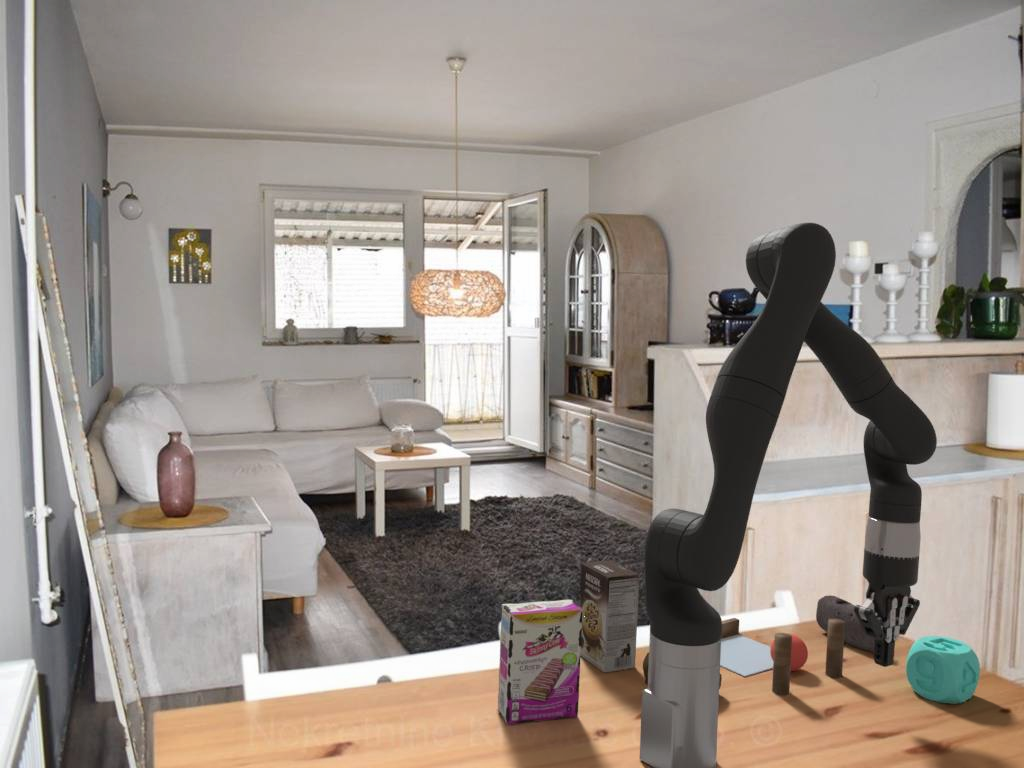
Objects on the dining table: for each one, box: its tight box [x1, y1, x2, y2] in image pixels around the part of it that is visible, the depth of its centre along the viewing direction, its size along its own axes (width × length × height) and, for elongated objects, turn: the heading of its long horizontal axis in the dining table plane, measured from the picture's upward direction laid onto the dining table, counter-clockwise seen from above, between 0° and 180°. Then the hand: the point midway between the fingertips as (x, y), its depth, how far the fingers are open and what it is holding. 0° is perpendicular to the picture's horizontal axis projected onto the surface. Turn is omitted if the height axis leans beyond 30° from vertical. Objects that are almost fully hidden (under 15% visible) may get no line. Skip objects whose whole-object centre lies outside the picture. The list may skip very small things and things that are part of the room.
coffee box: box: [579, 559, 640, 673], centre depth 157 cm, size 9×6×16 cm
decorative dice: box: [905, 635, 981, 704], centre depth 147 cm, size 8×8×8 cm
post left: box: [771, 632, 792, 696], centre depth 146 cm, size 3×3×9 cm
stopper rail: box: [721, 617, 740, 638], centre depth 169 cm, size 16×1×2 cm, turn 124°
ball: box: [770, 633, 809, 672], centre depth 155 cm, size 6×6×6 cm
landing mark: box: [720, 633, 773, 678], centre depth 162 cm, size 14×14×1 cm
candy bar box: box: [497, 599, 583, 725], centre depth 136 cm, size 11×5×16 cm, turn 108°
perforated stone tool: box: [815, 595, 875, 652], centre depth 169 cm, size 15×5×7 cm, turn 20°
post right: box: [824, 619, 845, 679], centre depth 154 cm, size 3×3×9 cm
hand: (883, 664), depth 138 cm, fingers closed
